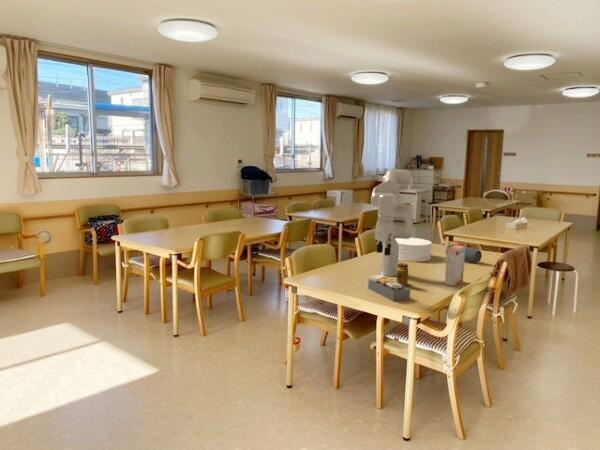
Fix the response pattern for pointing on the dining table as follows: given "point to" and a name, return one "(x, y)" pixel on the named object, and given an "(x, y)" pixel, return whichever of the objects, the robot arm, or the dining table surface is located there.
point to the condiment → (402, 274)
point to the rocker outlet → (394, 285)
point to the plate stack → (414, 249)
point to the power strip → (389, 291)
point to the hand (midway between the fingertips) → (383, 253)
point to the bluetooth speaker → (469, 254)
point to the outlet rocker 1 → (376, 278)
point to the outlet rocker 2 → (385, 280)
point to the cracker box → (454, 265)
